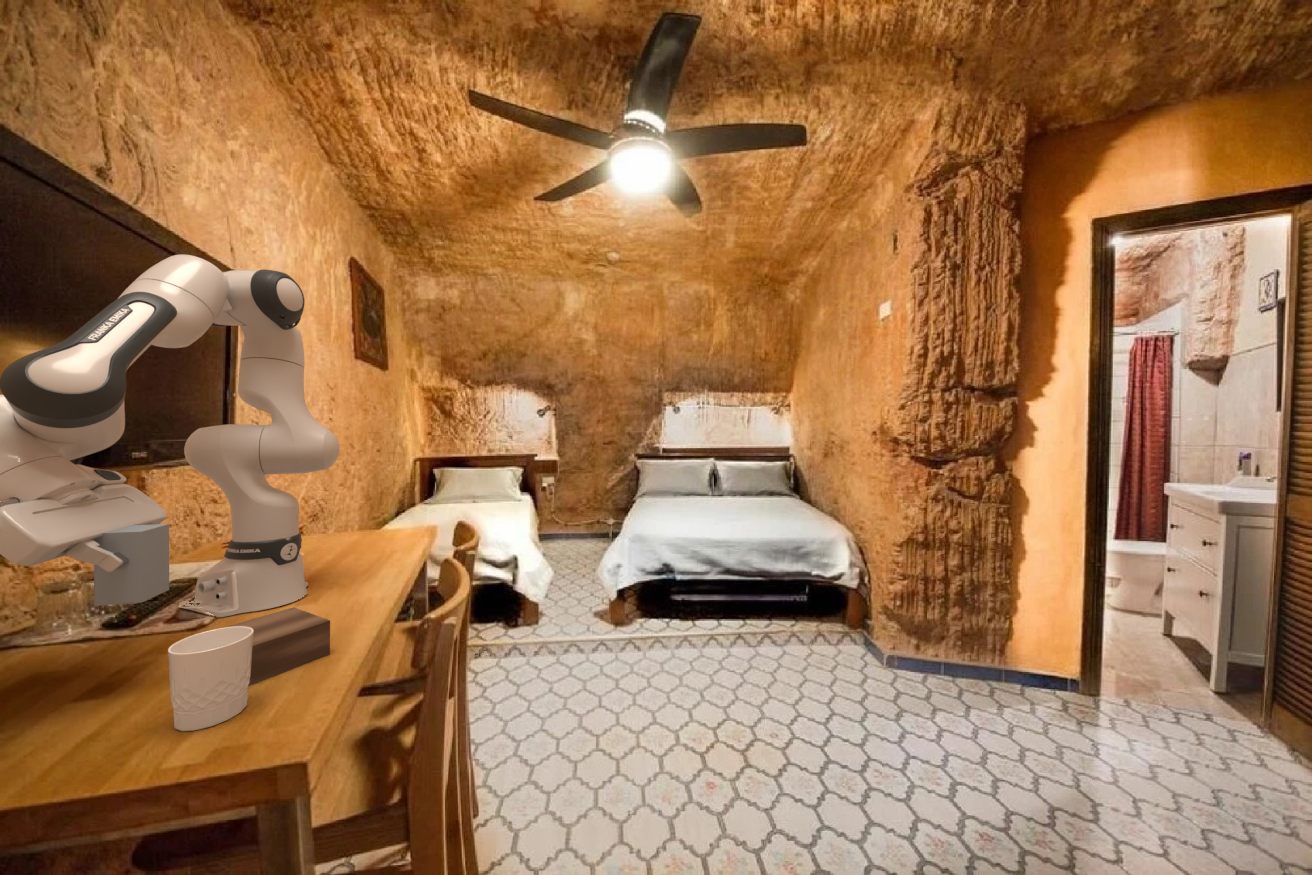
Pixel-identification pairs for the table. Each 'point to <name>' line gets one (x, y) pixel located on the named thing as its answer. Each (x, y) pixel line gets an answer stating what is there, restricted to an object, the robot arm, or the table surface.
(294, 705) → the table surface
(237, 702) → the white cup
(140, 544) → the slate block
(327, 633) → the walnut box
